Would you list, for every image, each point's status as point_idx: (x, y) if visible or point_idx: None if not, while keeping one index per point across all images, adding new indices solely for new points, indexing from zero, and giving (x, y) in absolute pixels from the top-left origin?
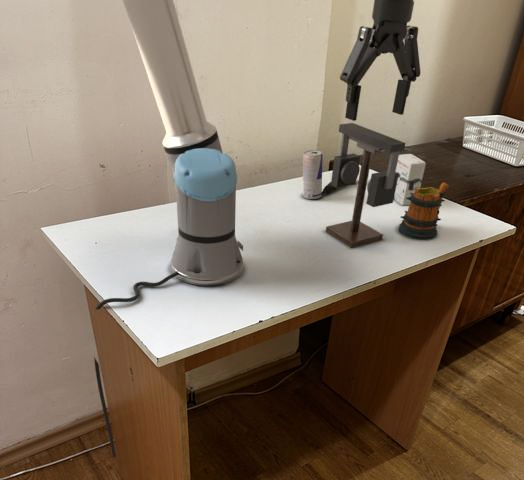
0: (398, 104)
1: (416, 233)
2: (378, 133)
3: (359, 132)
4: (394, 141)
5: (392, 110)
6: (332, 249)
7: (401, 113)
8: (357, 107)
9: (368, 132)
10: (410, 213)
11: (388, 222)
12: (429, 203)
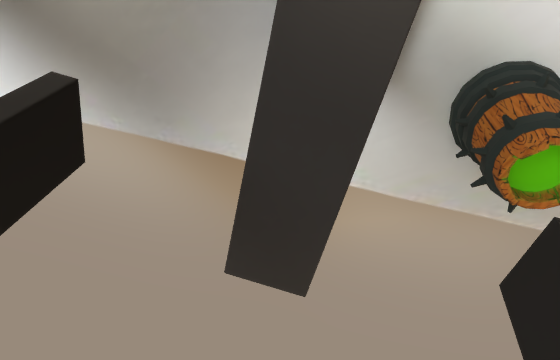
0: (548, 309)
1: (457, 134)
2: (345, 157)
3: (264, 68)
4: (282, 262)
5: (557, 225)
6: (233, 12)
7: (507, 293)
8: (20, 210)
9: (311, 108)
10: (484, 122)
11: (525, 17)
12: (491, 189)
